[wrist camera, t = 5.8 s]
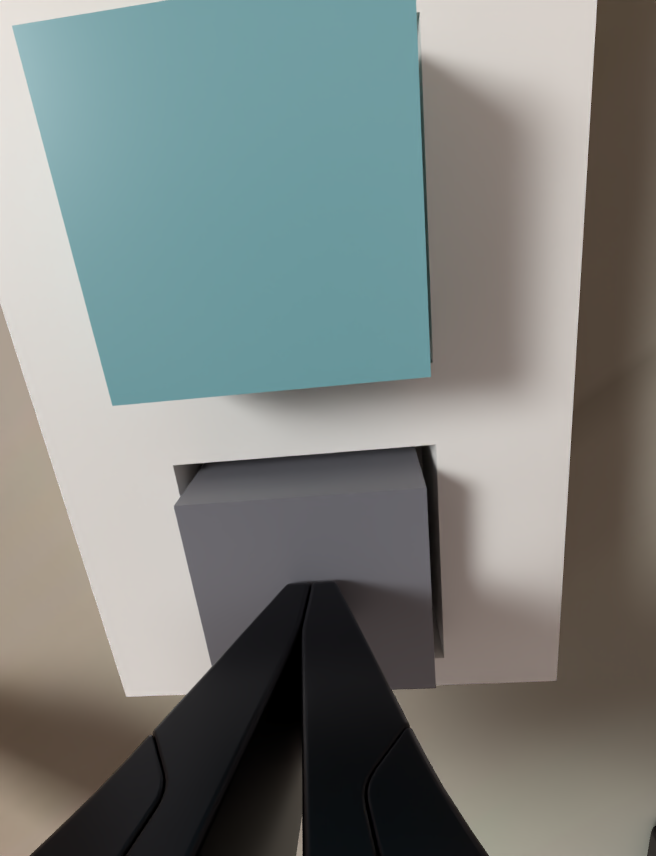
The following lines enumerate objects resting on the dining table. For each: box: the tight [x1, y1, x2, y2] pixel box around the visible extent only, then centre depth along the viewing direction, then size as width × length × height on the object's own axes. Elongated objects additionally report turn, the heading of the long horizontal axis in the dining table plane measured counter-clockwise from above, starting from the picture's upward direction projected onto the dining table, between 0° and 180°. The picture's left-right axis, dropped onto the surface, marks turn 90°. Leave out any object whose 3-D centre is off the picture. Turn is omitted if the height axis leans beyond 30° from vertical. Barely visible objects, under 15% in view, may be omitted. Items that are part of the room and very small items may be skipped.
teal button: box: [12, 0, 431, 406], centre depth 7 cm, size 4×4×3 cm
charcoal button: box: [174, 446, 436, 690], centre depth 10 cm, size 4×4×3 cm
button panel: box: [0, 0, 597, 697], centre depth 9 cm, size 9×18×3 cm, turn 6°
